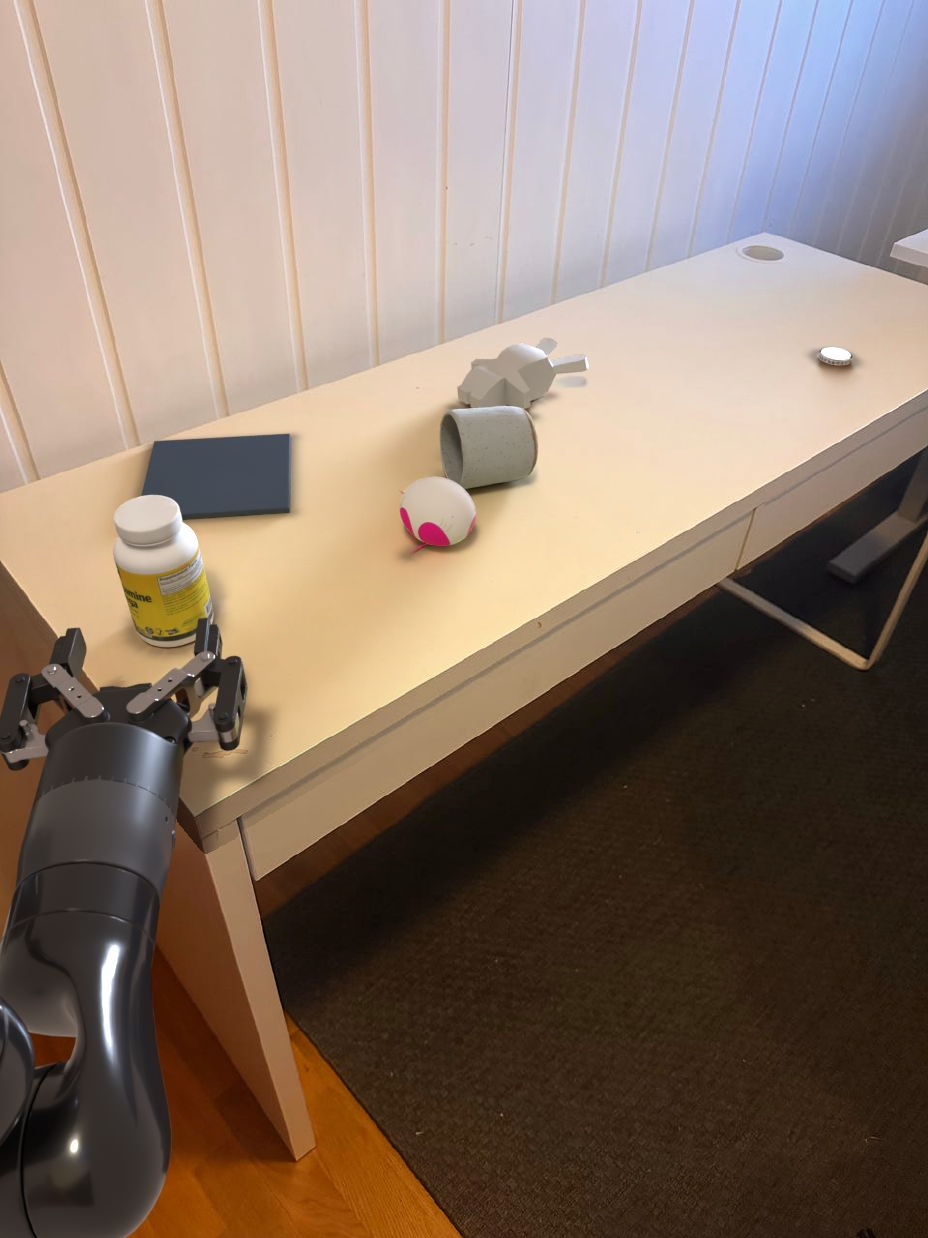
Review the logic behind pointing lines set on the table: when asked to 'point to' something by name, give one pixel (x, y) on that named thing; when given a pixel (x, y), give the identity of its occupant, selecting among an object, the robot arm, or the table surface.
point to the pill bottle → (160, 571)
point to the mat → (222, 475)
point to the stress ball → (437, 511)
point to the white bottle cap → (835, 356)
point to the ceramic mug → (487, 445)
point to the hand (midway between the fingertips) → (142, 631)
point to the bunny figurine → (516, 375)
